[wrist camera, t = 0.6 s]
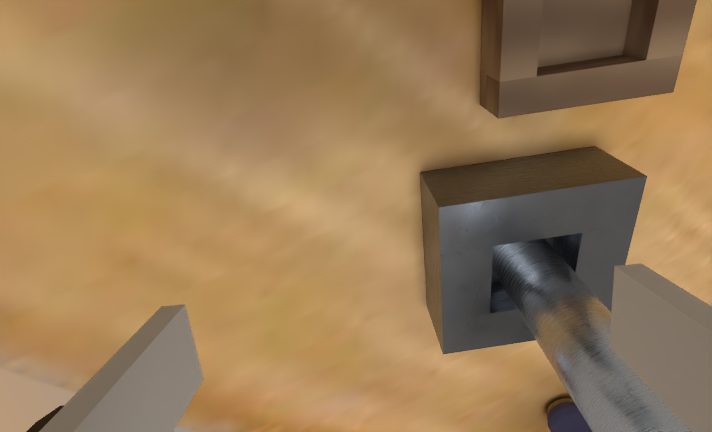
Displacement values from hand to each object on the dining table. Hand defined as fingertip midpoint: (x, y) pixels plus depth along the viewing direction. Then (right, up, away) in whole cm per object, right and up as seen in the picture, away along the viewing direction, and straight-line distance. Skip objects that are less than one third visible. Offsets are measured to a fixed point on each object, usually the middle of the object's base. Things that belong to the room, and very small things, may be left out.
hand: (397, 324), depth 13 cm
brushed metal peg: (+10, +1, +16) cm, 19 cm away
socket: (+10, +2, +18) cm, 20 cm away
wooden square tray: (+11, +15, +11) cm, 22 cm away
